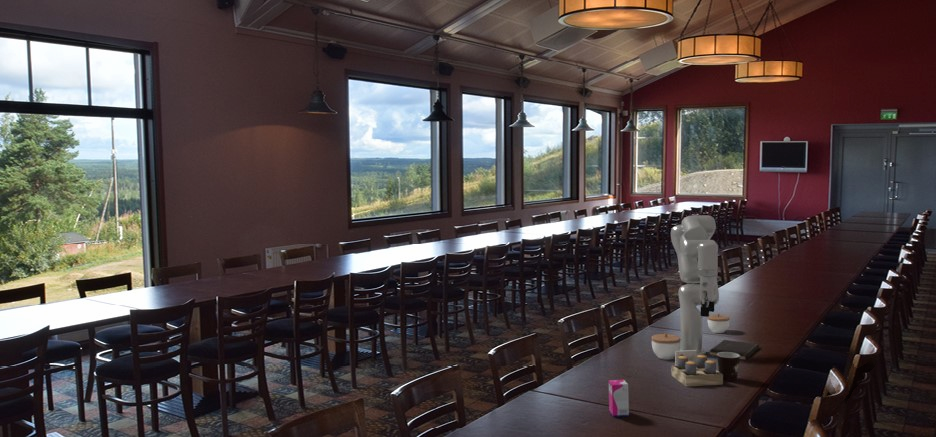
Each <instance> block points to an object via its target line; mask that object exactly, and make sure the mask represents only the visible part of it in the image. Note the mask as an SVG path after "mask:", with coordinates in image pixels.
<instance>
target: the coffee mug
mask: <svg viewBox="0 0 936 437" xmlns="http://www.w3.org/2000/svg"><path fill="white" fill-rule="evenodd" d="M716 358H717V365H718V366H717V367H718V372H720V373H721V374H723V382H731V383H734V382H736V381H737V380H738V375H739V372H738V371H739V365H740V360H741V359H740V355H739V354H737V353H732V352H720V353H717V356H716Z"/></svg>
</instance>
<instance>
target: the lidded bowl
mask: <svg viewBox="0 0 936 437" xmlns="http://www.w3.org/2000/svg"><path fill="white" fill-rule="evenodd" d="M650 339H651V347H652V351H653V353H654V354H655V355H656V356H657V358H658V359H660V360H675V351H679V349H680V347H681V336H678V335H675V334H670V333H668V332H664V333H659V334H657V333H656V334H654V335H652V336H651V338H650Z"/></svg>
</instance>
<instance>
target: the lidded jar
mask: <svg viewBox="0 0 936 437" xmlns="http://www.w3.org/2000/svg"><path fill="white" fill-rule="evenodd" d="M706 319H707V326H708V328H709V329H710V331H711V332H712V333H715V334H723V333H725V332H726V331H728V329H729V327H730V326H729V325H730V316H729V315H724V314H720V313H717V314H709V317H706Z"/></svg>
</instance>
